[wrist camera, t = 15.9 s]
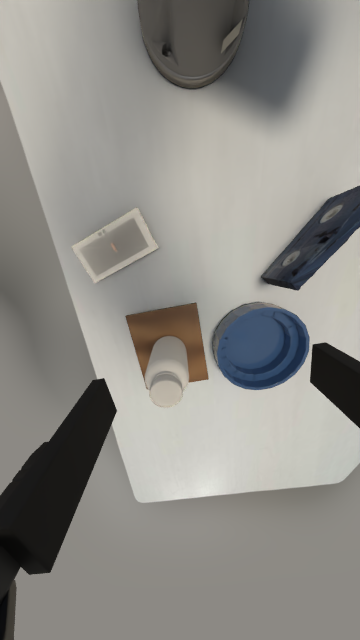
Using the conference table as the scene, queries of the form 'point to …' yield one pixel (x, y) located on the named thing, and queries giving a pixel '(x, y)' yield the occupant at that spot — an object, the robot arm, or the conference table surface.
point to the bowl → (260, 345)
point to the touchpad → (115, 246)
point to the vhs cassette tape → (316, 241)
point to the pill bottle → (167, 372)
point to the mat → (170, 323)
